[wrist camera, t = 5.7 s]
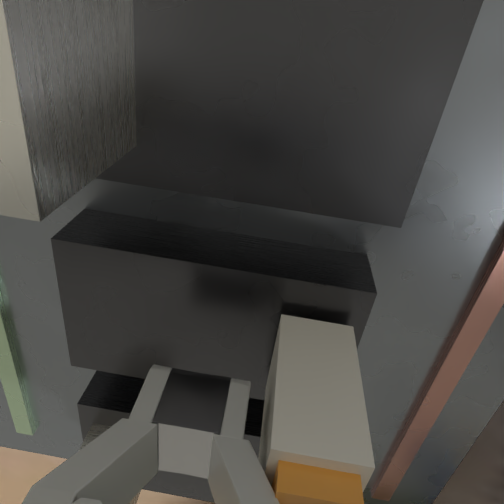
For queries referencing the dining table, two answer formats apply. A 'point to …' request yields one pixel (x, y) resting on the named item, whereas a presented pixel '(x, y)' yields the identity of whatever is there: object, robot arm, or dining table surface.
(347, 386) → the block
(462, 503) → the dining table surface
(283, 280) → the panel
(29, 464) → the dining table surface
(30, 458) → the dining table surface
